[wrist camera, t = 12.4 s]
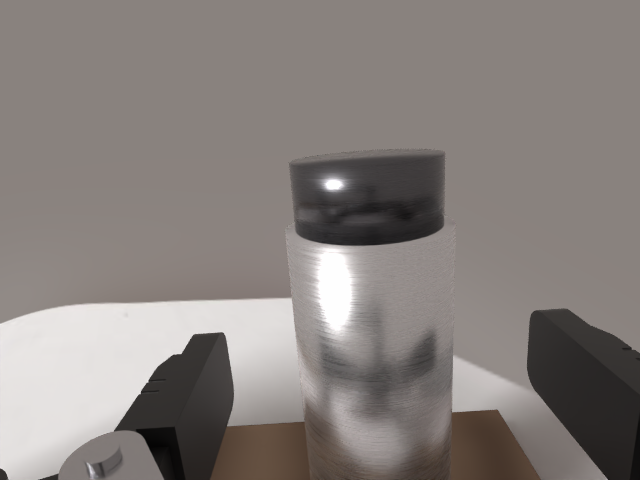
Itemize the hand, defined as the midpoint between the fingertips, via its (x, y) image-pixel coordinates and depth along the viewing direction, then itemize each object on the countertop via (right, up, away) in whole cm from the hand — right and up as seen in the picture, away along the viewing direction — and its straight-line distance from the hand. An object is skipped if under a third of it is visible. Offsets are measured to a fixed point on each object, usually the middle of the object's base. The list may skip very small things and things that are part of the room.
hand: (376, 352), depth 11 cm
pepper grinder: (+1, -8, +5) cm, 9 cm away
